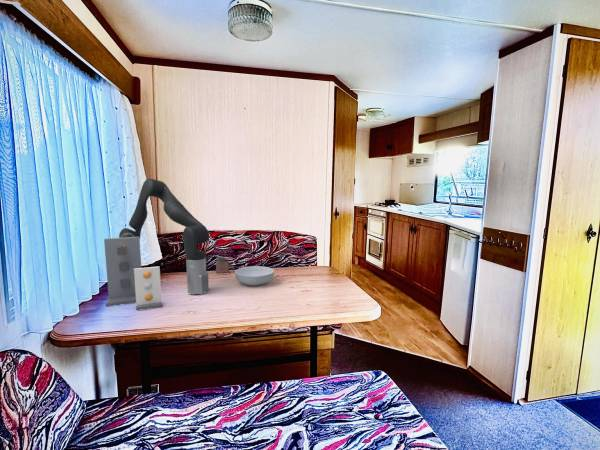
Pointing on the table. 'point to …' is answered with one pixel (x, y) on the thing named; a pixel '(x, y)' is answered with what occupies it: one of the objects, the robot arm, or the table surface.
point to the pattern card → (147, 287)
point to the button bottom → (125, 283)
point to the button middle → (123, 266)
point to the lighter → (222, 265)
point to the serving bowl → (254, 275)
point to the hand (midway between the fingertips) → (123, 247)
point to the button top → (121, 250)
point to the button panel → (115, 275)
